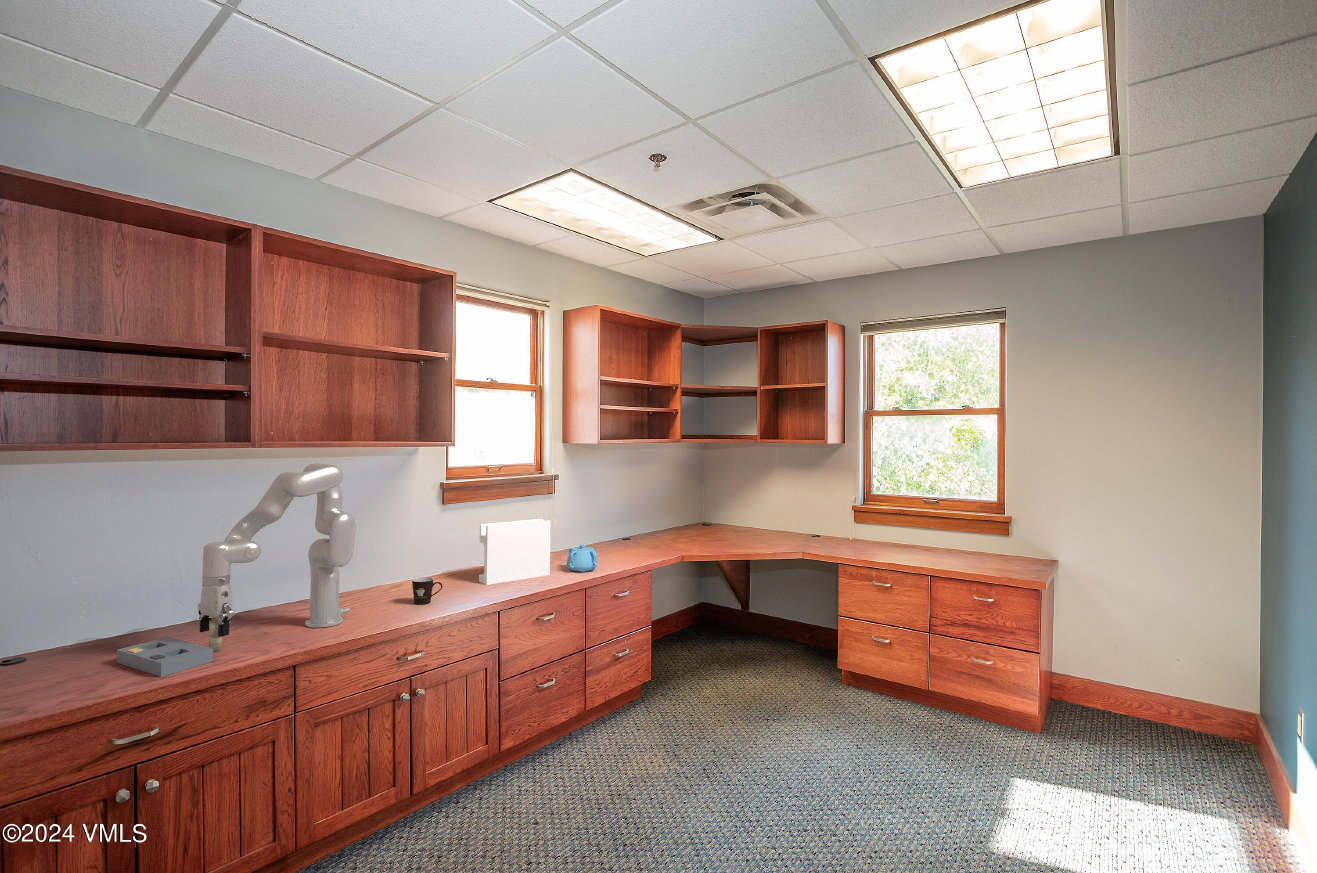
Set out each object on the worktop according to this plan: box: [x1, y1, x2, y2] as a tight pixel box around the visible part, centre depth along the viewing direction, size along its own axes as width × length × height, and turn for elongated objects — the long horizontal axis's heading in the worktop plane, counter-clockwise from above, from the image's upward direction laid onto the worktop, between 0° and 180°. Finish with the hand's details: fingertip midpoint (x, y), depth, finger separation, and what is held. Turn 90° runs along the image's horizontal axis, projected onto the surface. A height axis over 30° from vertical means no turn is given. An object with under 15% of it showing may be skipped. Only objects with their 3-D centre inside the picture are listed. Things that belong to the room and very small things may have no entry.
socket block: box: [116, 636, 214, 678], centre depth 194 cm, size 14×24×4 cm, turn 65°
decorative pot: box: [566, 544, 599, 573], centre depth 333 cm, size 16×16×14 cm
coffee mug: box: [411, 576, 443, 606], centre depth 264 cm, size 12×9×10 cm
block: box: [478, 518, 552, 586], centre depth 312 cm, size 35×8×28 cm, turn 132°
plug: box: [208, 618, 224, 654], centre depth 204 cm, size 4×4×10 cm
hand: (214, 633), depth 204 cm, fingers open, 9 cm apart
